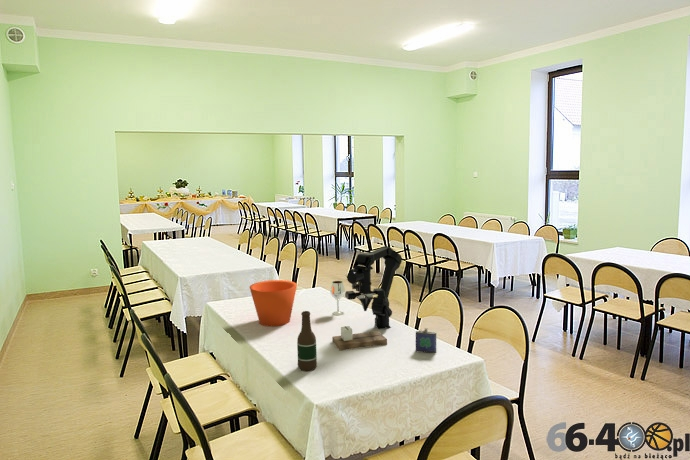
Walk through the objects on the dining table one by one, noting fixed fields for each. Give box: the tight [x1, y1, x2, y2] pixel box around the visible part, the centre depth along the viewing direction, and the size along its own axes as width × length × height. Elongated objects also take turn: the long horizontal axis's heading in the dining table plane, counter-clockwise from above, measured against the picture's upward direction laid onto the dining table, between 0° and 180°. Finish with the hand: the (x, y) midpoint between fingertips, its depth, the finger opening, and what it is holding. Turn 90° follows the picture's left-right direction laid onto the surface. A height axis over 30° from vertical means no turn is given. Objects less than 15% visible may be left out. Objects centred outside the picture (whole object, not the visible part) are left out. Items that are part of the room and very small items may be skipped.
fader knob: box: [340, 325, 353, 341], centre depth 236 cm, size 4×5×5 cm
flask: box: [415, 327, 437, 354], centre depth 226 cm, size 9×3×11 cm, turn 74°
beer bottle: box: [296, 310, 318, 372], centre depth 210 cm, size 8×8×24 cm
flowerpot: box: [249, 279, 298, 327], centre depth 272 cm, size 25×25×20 cm
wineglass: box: [330, 280, 346, 316], centre depth 284 cm, size 8×8×18 cm
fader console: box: [331, 330, 388, 351], centre depth 239 cm, size 23×12×3 cm, turn 107°
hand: (365, 310), depth 248 cm, fingers closed
